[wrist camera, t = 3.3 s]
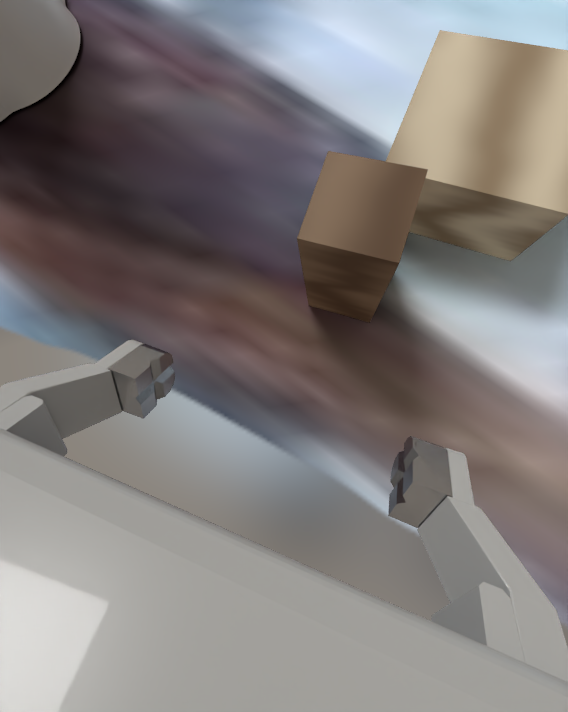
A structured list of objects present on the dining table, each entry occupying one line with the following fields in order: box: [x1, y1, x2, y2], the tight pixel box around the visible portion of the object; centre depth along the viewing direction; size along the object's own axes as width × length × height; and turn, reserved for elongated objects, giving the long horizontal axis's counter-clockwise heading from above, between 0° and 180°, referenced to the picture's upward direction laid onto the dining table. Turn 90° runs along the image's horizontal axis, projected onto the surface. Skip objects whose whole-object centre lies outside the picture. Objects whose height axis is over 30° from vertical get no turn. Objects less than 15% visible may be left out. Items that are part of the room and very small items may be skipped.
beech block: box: [386, 30, 568, 261], centre depth 22 cm, size 11×11×6 cm
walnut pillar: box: [297, 151, 428, 323], centre depth 20 cm, size 5×5×10 cm
